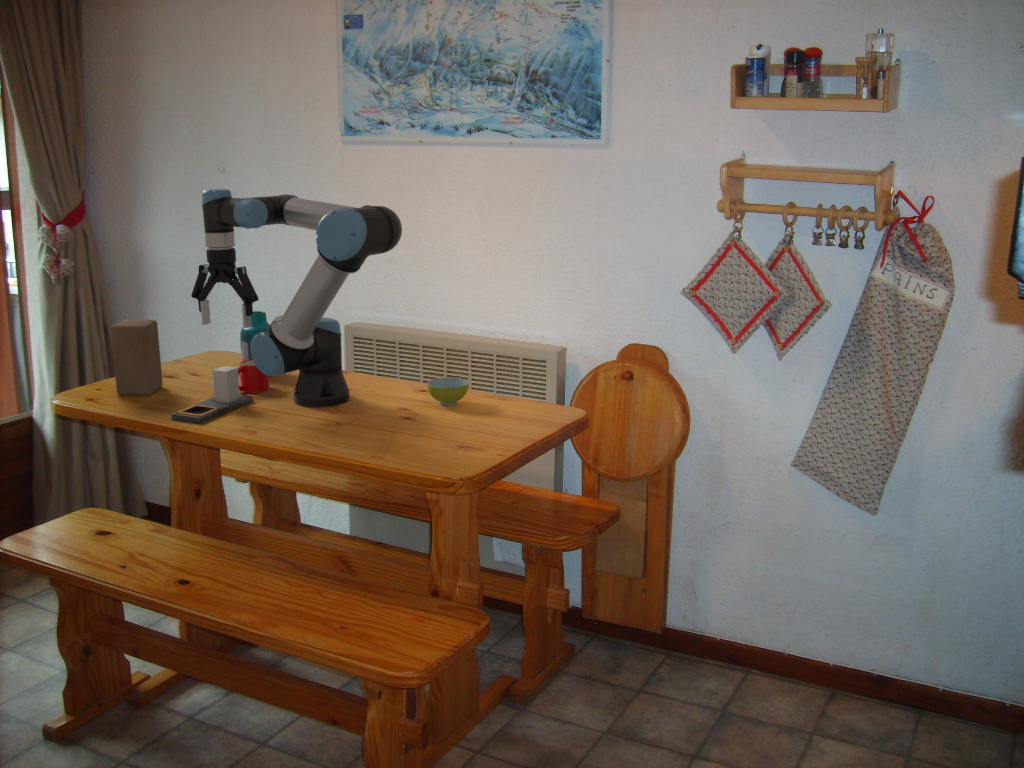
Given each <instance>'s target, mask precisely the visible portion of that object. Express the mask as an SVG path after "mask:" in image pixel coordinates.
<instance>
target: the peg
mask: <svg viewBox="0 0 1024 768" xmlns="http://www.w3.org/2000/svg"><path fill="white" fill-rule="evenodd" d="M238 368H239V367H234V366H227V365H226V366H225V365H224V366H220V367H217V368H214V369H213V370H212V374H213V375H212V376H213V389H214V390H213V391H214V397H215V401H217V402H224V403H232V402H234V401H236V400H239V399H240V395H241V394H240V391H239V386H240V383H239V382H240V381H239V375H238Z"/></svg>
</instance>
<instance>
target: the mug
mask: <svg viewBox="0 0 1024 768" xmlns="http://www.w3.org/2000/svg"><path fill="white" fill-rule="evenodd" d="M238 365H239V367H237V368H238V376H239V375H240V376H239V377H240V378H239V379H240V385H239V392H242V393H243V392H244V393H263V392H266V391H268V390H269V389H270V376H267V375H265V374H263V373H262V372H261V371H260V370H259V369H258V368H257V366H256V365H255V363H254V361H253V359H252V360H245V361H242V360H241V362H239V364H238ZM262 391H263V392H262Z"/></svg>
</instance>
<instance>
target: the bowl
mask: <svg viewBox="0 0 1024 768" xmlns="http://www.w3.org/2000/svg"><path fill="white" fill-rule="evenodd" d="M426 385H427V389H428V392H429V394H430V396H431V397H432V398H433V399H434V400H436V401H438V402H439V403H440V404H439V405H441V406H444V407H453V406H456V405H458V401H460V400H461V399H463V398H464V396H466V394H467V393H468V391H469V386H470V381H469V380H467V379H465V378H460V377H438V378H433V379H430V380H428V381H427V383H426Z"/></svg>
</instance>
